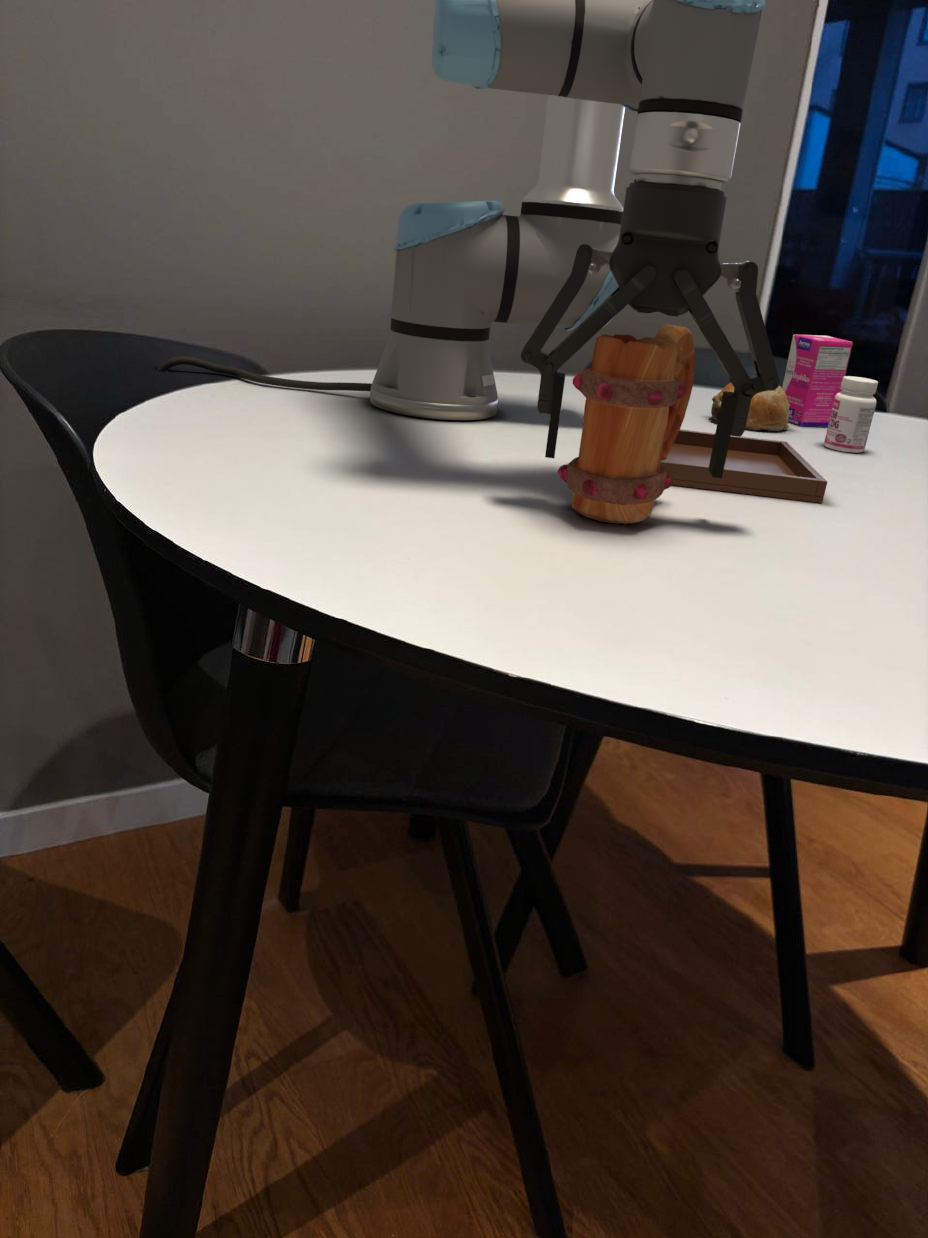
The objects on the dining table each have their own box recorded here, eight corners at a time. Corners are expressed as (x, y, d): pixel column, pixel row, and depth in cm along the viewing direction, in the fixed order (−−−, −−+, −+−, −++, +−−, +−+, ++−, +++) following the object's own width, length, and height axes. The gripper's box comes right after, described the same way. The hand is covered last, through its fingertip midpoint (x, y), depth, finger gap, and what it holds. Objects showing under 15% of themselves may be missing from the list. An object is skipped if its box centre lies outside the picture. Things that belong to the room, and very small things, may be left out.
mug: (625, 539, 75) (659, 336, 69) (536, 513, 79) (561, 320, 73) (704, 508, 86) (739, 331, 80) (622, 487, 90) (650, 318, 84)
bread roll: (776, 461, 126) (815, 408, 123) (712, 420, 124) (750, 364, 122) (756, 445, 135) (792, 394, 133) (695, 406, 133) (731, 354, 131)
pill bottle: (814, 444, 120) (831, 374, 117) (841, 443, 123) (858, 375, 119) (845, 453, 116) (862, 382, 113) (872, 453, 119) (890, 382, 116)
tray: (603, 476, 93) (607, 455, 92) (598, 438, 110) (601, 419, 110) (822, 503, 92) (827, 481, 91) (782, 460, 109) (786, 441, 108)
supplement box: (773, 417, 137) (792, 332, 132) (808, 418, 139) (827, 335, 134) (799, 426, 132) (819, 338, 127) (835, 427, 134) (856, 341, 129)
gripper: (508, 163, 70) (478, 455, 78) (862, 199, 69) (794, 493, 76) (514, 169, 77) (485, 437, 85) (835, 202, 76) (775, 471, 83)
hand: (632, 464), depth 81 cm, fingers open, 13 cm apart
